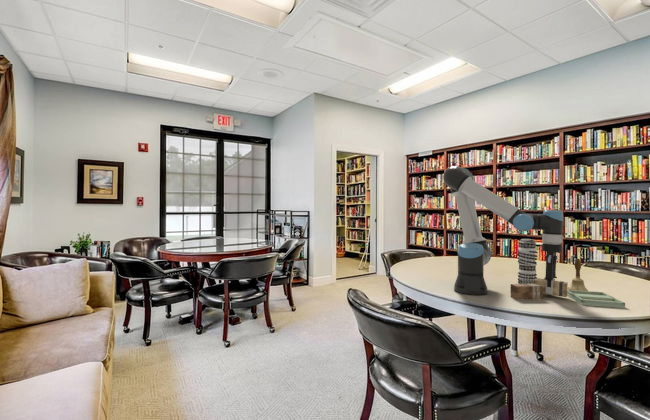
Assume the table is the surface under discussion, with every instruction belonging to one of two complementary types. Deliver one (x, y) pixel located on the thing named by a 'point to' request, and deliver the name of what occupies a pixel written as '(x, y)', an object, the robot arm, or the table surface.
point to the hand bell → (577, 279)
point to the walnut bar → (526, 291)
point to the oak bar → (554, 287)
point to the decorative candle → (527, 261)
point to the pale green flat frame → (595, 299)
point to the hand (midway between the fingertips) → (549, 292)
